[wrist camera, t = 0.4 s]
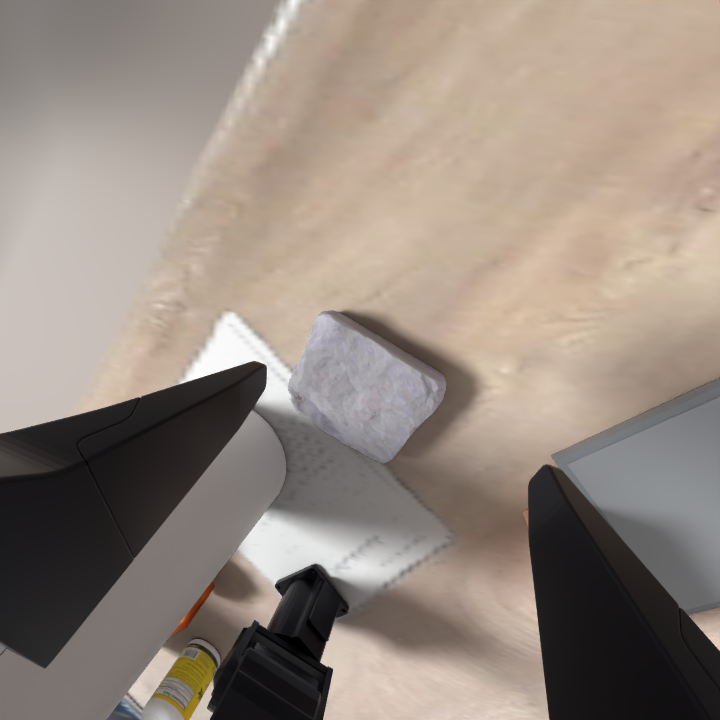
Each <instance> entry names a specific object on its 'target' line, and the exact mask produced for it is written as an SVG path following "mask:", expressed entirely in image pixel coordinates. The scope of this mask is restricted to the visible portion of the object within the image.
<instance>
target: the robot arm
mask: <svg viewBox="0 0 720 720" xmlns="http://www.w3.org/2000/svg"><path fill="white" fill-rule="evenodd" d="M266 379H267V367H266V365H265V364H262V363H260V362H257V361H252V362H249V363H246V364H243V365H240V366H236V367H233V368H230V369H227V370H224V371H221V372H217V373H214V374H211V375H208V376H205V377H201V378H198V379H195V380H192V381H189V382H186V383H182V384H179V385H176V386H173V387H170V388H167V389H163V390H160V391H157V392H154V393H151V394H147V395H144V396H142V397H141V398H139V397H138V398H135V399H131V400H128V401H125V402H122V403H118V404H115V405H112V406H108V407H105V408H101V409H98V410H94V411H90V412H86V413H83V414H79V415H75V416H71V417H67V418H63V419H59V420H55V421H51V422H47V423H43V424H40V425H35V426H31V427H28V428H23V429H19V430H15V431H11V432H6V433H1V434H0V656H1V655H2V654H3V653H4V652H5V650H6V649H8V650H10V651H12V652H14V653H15V654H17V655H19V656H21V657H23V658H25V659H27V660H29V661H30V662H32V663H34V664H36V665H38V666H40V667H42V668H43V669H45V668H47V666H48V665H49V664H50V663H51V662H52V661H53V660H54V658H55V657H56V656H57V655H58V654H59V652H60V651H61V650H62V649H63V647H64V646H65V645H66V644H67V642H68V641H69V640H70V639H71V638H72V636H73V635H74V634H75V633H76V631H77V630H78V629H79V628H80V626H81V625H82V624H83V623H84V621H85V620H86V619H87V618H88V616H89V615H90V614H91V613H92V611H93V610H94V609H95V608H96V607H97V605H98V604H99V603H100V602H101V600H102V599H103V598H104V597H105V595H106V594H107V593H108V592H109V590H110V589H111V588H112V587H113V585H114V584H115V583H116V582H117V580H118V579H119V578H120V577H121V576H122V574H123V573H124V572H125V571H126V569H127V568H128V567H129V566H130V564H131V563H132V562H133V561H134V558H136V557H137V555H138V554H139V553H140V552H141V550H142V549H143V548H144V547H145V545H146V544H147V543H148V542H149V540H150V539H151V538H152V537H153V536H154V534H155V533H156V532H157V531H158V529H159V528H160V527H161V526H162V524H163V523H164V522H165V521H166V519H167V518H168V517H169V516H170V514H171V513H172V512H173V511H174V509H175V508H176V507H177V506H178V505H179V503H180V502H181V501H182V500H183V498H184V497H185V496H186V495H187V493H188V492H189V491H190V490H191V488H192V487H193V486H194V485H195V483H196V482H197V481H198V480H199V478H200V477H201V476H202V475H203V473H204V472H205V471H206V470H207V469H208V467H209V466H210V465H211V464H212V462H213V461H214V460H215V459H216V457H217V456H218V455H219V454H220V452H221V451H222V450H223V449H224V447H225V446H226V445H227V444H228V442H229V441H230V440H231V439H232V438H233V436H234V435H235V434H236V433H237V431H238V430H239V429H240V427H241V426H242V424H243V423H244V421H245V420H246V418H247V417H248V415H249V414H250V412H251V410H252V409H253V407H254V406H255V404H256V403H257V401H258V399H259V398H260V396H261V395H262V393H263V392H264V390H265V387H266ZM528 535H529V547H530V556H531V564H532V573H533V582H534V590H535V599H536V608H537V616H538V625H539V634H540V642H541V651H542V660H543V668H544V677H545V686H546V694H547V703H548V712H549V720H720V651H719V650H718V649H717V648H716V646H715V645H714V644H713V643H712V642H711V641H710V640H709V639H708V637H707V636H706V635H705V634H704V633H703V632H702V631H701V630H700V628H699V627H698V626H697V625H696V624H695V623H694V621H693V620H692V619H691V618H690V617H689V616H688V614H687V613H686V612H685V611H684V610H683V609H682V608H679V604H678V603H677V602H676V601H675V600H674V598H673V597H672V596H671V595H670V594H669V593H668V591H667V590H666V589H665V588H664V587H663V586H662V585H661V583H660V582H659V581H658V580H657V579H656V578H655V576H654V575H653V574H652V573H651V572H650V571H649V570H648V568H647V567H646V566H645V565H644V564H643V563H642V561H641V560H640V559H639V558H638V557H637V556H636V555H635V553H634V552H633V551H632V550H631V549H630V548H629V546H628V545H627V544H626V543H625V542H624V541H623V540H622V538H621V537H620V536H619V535H618V534H617V533H616V531H615V530H614V529H613V528H612V527H611V526H610V525H609V523H608V522H607V521H606V520H605V519H604V518H603V517H602V515H601V514H600V513H599V512H598V511H597V510H596V508H595V507H594V506H593V505H592V504H591V503H590V502H589V500H588V499H587V498H586V497H585V496H584V495H583V493H582V492H581V491H580V490H579V489H578V488H577V487H576V485H575V484H574V483H573V482H572V481H571V480H570V478H569V477H568V476H567V475H566V474H565V473H564V472H563V470H561V469H560V468H557V467H554V466H551V465H548V464H546V465H543V466H542V467H541V468H540V470H539V471H538V472H537V473H536V474H535V475H534V476H533V477H532V479H531V480H530V482H529V486H528ZM275 588H276V589H277V590H278V592H279V593H280V594H281V595H282V599H281V601H280V603H279V605H278V607H277V609H276V611H275V613H274V615H273V617H272V619H271V621H270V623H269V625H268V627H267V629H266V628H264V627H263V626H261V625H259V622H257V621H255V620H254V622H253V624H252V626H251V627H249V628H243V630H242V632H241V633H240V635H239V637H238V639H237V640H236V642H235V644H234V646H233V647H232V649H231V650H230V652H229V653H228V655H227V656H226V658H225V659H224V661H223V662H222V664H221V665H220V667H219V668H218V670H217V671H216V673H215V675H214V677H213V682H214V689H213V692H212V694H211V696H212V698H211V700H210V702H209V704H208V707H207V709H208V710H210V711H211V712H213V715H212V716H211V718H210V720H323V717H324V712H325V707H326V702H327V697H328V692H329V688H330V683H331V678H332V673H333V669H332V668H330V667H329V666H328V667H326V666H325V665H323V664H321V663H320V661H321V658H322V655H323V652H324V648H325V645H326V642H327V641H328V640H329V637H330V634H331V631H332V627H333V624H334V621H335V618H337V617H340V616H343V615H345V614H347V613H348V610H349V607H348V605H347V604H346V603H345V601H344V600H343V599H342V597H341V596H340V595H339V594H338V592H337V591H336V590H335V589H334V587H333V586H332V585H331V584H330V582H329V581H328V580H327V579H326V577H325V576H324V575H323V574H322V572H321V571H320V570H319V568H318V567H317V566H315V565H311V566H308V567H306V568H304V569H302V570H300V571H298V572H295V573H293V574H291V575H289V576H287V577H285V578H283V579H280V580H278V581H277V582H276V584H275Z"/></svg>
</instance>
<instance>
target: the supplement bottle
mask: <svg viewBox="0 0 720 720" xmlns="http://www.w3.org/2000/svg"><path fill="white" fill-rule="evenodd" d="M219 666H220V656H219V654H218V652H217V650H216V649H215V648H214V647H213V646H212V645H211V644H209V643H208V642H206V641H204V640H201V639H194V640H192V641H190V642H189V643H188V644H187V646H186V647H185V649H184V650H183V651H182V653H181V654H180V656H179V657H178V659H177V660H176V662H175V663H174V665H173V666H172V668H171V669H170V670H169V672H168V673H167V675H166V676H165V678H164V679H163V681H162V682H161V684H160V685H159V686H158V688H157V689H156V691H155V692H154V694H153V695H152V697H151V698H150V700H149V701H148V702H147V704H146V706H145V707H144V710H143V714H142V719H143V720H189V719H190V718H191V716H192V714H193V712H194V711H195V709H196V707H197V705H198V704H199V702H200V700H201V698H202V696H203V695H204V693H205V691H206V689H207V688H208V686H209V684H210V682H211V680H212V679H213V677H214V675H215V673H216V671H217V670H218V668H219Z"/></svg>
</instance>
